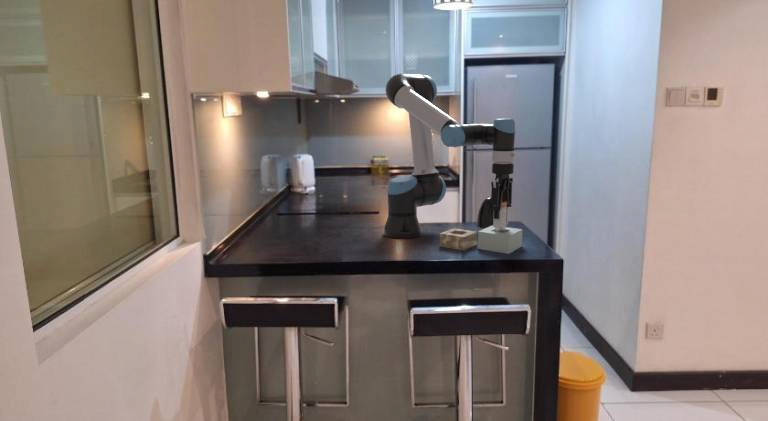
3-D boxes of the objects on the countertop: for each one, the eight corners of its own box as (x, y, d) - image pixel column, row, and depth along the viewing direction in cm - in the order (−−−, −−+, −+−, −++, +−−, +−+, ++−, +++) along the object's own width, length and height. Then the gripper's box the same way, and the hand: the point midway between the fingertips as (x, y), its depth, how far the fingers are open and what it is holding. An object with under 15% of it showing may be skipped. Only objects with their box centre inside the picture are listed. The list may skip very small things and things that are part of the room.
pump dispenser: (502, 238, 204) (503, 200, 201) (475, 236, 206) (476, 199, 203) (501, 231, 214) (503, 195, 211) (476, 230, 216) (477, 195, 213)
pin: (491, 248, 190) (492, 202, 187) (496, 245, 194) (497, 200, 190) (503, 249, 188) (503, 203, 184) (507, 246, 191) (508, 201, 187)
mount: (440, 246, 193) (440, 233, 192) (453, 240, 201) (453, 228, 200) (464, 250, 187) (464, 237, 186) (476, 244, 195) (476, 231, 194)
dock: (477, 248, 189) (478, 231, 188) (492, 241, 199) (492, 225, 198) (508, 253, 182) (509, 236, 181) (521, 246, 192) (522, 229, 191)
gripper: (501, 165, 175) (499, 232, 180) (523, 160, 189) (520, 222, 194) (481, 164, 179) (479, 229, 184) (503, 159, 194) (501, 219, 198)
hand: (500, 225), depth 189 cm, fingers open, 5 cm apart
